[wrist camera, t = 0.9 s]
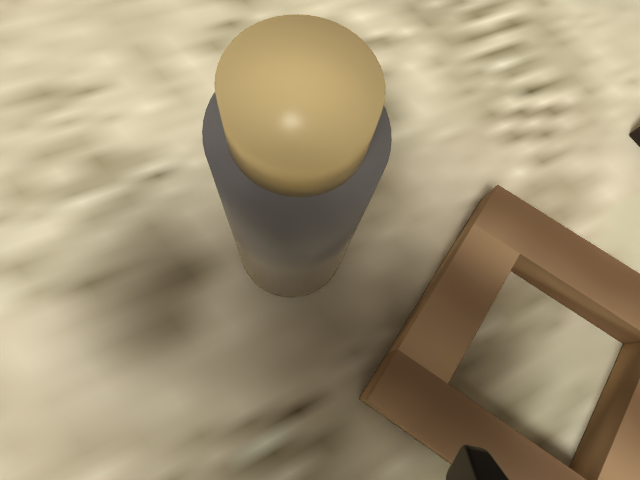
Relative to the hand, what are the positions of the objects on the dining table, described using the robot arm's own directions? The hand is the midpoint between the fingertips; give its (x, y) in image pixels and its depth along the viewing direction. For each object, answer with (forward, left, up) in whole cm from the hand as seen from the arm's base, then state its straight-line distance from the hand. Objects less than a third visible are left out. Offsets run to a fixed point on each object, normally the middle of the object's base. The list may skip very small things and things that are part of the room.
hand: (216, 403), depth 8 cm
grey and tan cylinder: (+5, -4, -13) cm, 15 cm away
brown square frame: (-5, -12, -13) cm, 18 cm away
